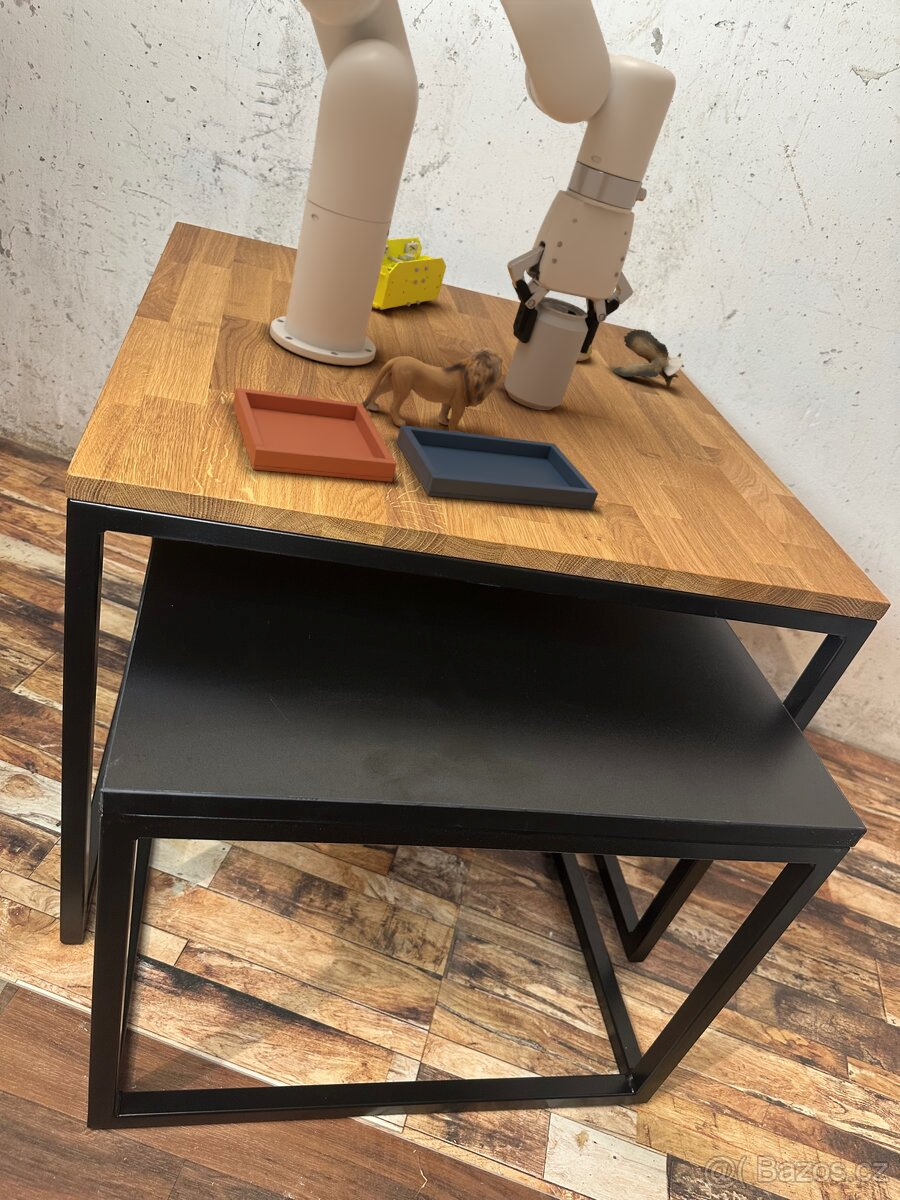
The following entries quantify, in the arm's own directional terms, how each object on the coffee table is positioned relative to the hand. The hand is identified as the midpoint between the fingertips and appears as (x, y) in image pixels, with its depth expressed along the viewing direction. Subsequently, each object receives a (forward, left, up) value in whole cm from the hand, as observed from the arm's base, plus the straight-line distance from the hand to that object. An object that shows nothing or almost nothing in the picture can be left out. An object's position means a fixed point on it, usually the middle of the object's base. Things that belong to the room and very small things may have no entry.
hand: (550, 343), depth 104 cm
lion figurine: (+11, -18, -8) cm, 22 cm away
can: (0, 0, -8) cm, 8 cm away
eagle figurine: (-15, +26, -8) cm, 31 cm away
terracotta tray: (+19, -32, -7) cm, 38 cm away
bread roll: (-22, +15, -7) cm, 28 cm away
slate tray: (+22, -14, -7) cm, 27 cm away
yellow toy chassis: (-31, -9, -7) cm, 33 cm away
